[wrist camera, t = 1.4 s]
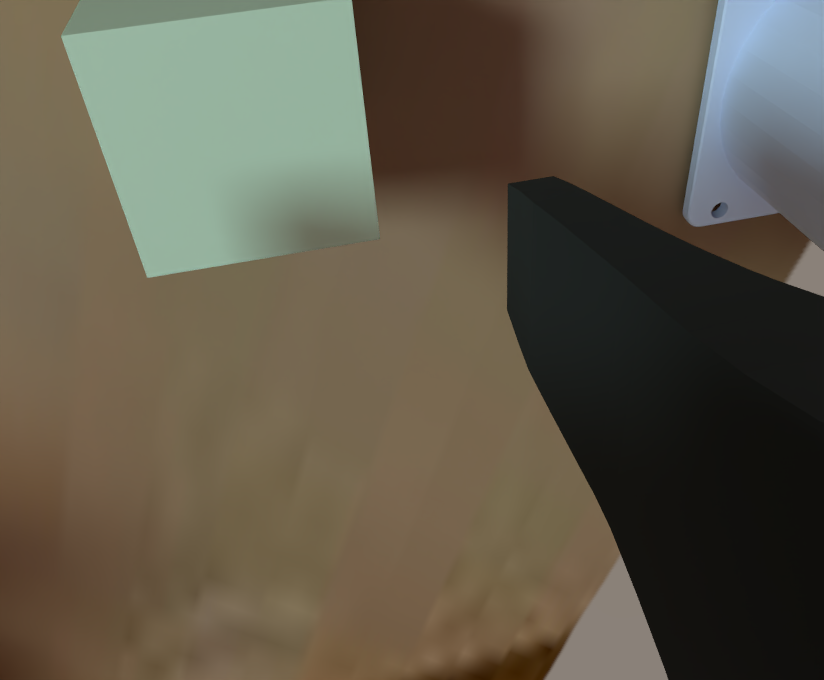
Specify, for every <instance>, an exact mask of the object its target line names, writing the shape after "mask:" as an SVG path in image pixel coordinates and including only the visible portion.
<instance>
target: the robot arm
mask: <svg viewBox="0 0 824 680" xmlns="http://www.w3.org/2000/svg"><path fill="white" fill-rule="evenodd" d="M719 203H721V205H720V207H719V208H718V209H717V210H715V211H712V209H713V207H714V206H715V205H717V204H719ZM711 211H712V212H711ZM777 213H780V214H781V215H782V216H784V217H785V218H786V219H787V220H788V221H789V222H790V223H792V224H793V225H794V226H795V227H796V228H797V229H799V230H800V231H801V232H802V233H803V234H804V235H806V236H807V237H808V238H809V239H810V240H811V241H812V242H814V243H815V244H816V245H817V246H818V247H819V248H821V249H822V250H823V251H824V0H719V1H718V7H717V13H716V19H715V24H714V30H713V36H712V42H711V48H710V54H709V60H708V65H707V71H706V77H705V83H704V89H703V95H702V101H701V106H700V112H699V118H698V124H697V130H696V136H695V141H694V147H693V153H692V159H691V165H690V171H689V177H688V182H687V188H686V194H685V200H684V206H683V216H684V218H685V219H686V220H687V222H688V223H689V224H690V225H692V226H694V227H701V226H707V225H713V224H719V223H725V222H730V221H736V220H742V219H748V218H753V217H759V216H765V215H771V214H777ZM507 311H508V314H509V317H510V319H511V322H512V325H513V328H514V331H515V334H516V337H517V340H518V343H519V345H520V348H521V351H522V353H523V356H524V359H525V361H526V364H527V367H528V369H529V371H530V373H531V375H532V377H533V379H534V381H535V383H536V385H537V387H538V389H539V391H540V393H541V395H542V397H543V399H544V401H545V402H546V404H547V406H548V408H549V410H550V412H551V414H552V416H553V418H554V420H555V421H556V423H557V425H558V427H559V429H560V431H561V433H562V435H563V437H564V438H565V440H566V442H567V444H568V446H569V448H570V450H571V452H572V453H573V455H574V457H575V459H576V461H577V463H578V465H579V467H580V468H581V470H582V472H583V474H584V476H585V478H586V480H587V482H588V484H589V485H590V487H591V489H592V491H593V493H594V495H595V497H596V499H597V501H598V503H599V505H600V507H601V509H602V511H603V513H604V516H605V518H606V520H607V522H608V524H609V526H610V528H611V531H612V533H613V536H614V538H615V541H616V543H617V546H618V548H619V551H620V553H621V556H622V558H623V561H624V563H625V566H626V568H627V571H628V573H629V576H630V578H631V581H632V583H633V586H634V588H635V591H636V593H637V596H638V598H639V601H640V604H641V607H642V609H643V612H644V615H645V617H646V620H647V623H648V625H649V628H650V631H651V633H652V636H653V639H654V641H655V644H656V647H657V649H658V652H659V655H660V657H661V660H662V663H663V665H664V668H665V671H666V674H667V677H668V680H824V297H823V296H820V295H817V294H814V293H811V292H809V291H806V290H803V289H800V288H797V287H794V286H791V285H788V284H785V283H783V282H780V281H777V280H774V279H772V278H769V277H766V276H764V275H761V274H759V273H756V272H753V271H751V270H749V269H746V268H744V267H741V266H739V265H737V264H735V263H732V262H730V261H728V260H725V259H723V258H721V257H718V256H716V255H714V254H711V253H709V252H707V251H704V250H702V249H700V248H698V247H696V246H694V245H691V244H689V243H687V242H685V241H683V240H681V239H679V238H677V237H675V236H673V235H670V234H668V233H666V232H664V231H662V230H660V229H658V228H656V227H654V226H652V225H650V224H648V223H646V222H644V221H642V220H641V219H639V218H637V217H635V216H633V215H631V214H629V213H627V212H625V211H623V210H621V209H619V208H617V207H615V206H614V205H612V204H610V203H608V202H606V201H604V200H602V199H600V198H598V197H596V196H594V195H592V194H591V193H589V192H587V191H585V190H583V189H581V188H579V187H577V186H575V185H573V184H570V183H568V182H566V181H564V180H561V179H559V178H556V177H554V176H552V177H546V178H540V179H534V180H528V181H522V182H516V183H509V184H508V264H507Z"/></svg>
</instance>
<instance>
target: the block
mask: <svg viewBox="0 0 824 680" xmlns="http://www.w3.org/2000/svg"><path fill="white" fill-rule="evenodd" d="M61 37H62V40H63V43H64V46H65V48H66V51H67V54H68V57H69V60H70V62H71V65H72V68H73V71H74V74H75V76H76V79H77V82H78V85H79V88H80V90H81V93H82V96H83V99H84V102H85V104H86V107H87V110H88V113H89V115H90V118H91V121H92V124H93V127H94V129H95V132H96V135H97V138H98V141H99V143H100V146H101V149H102V152H103V155H104V157H105V160H106V163H107V166H108V169H109V171H110V174H111V177H112V180H113V183H114V185H115V188H116V191H117V194H118V197H119V199H120V202H121V205H122V208H123V211H124V213H125V216H126V219H127V222H128V224H129V227H130V230H131V233H132V236H133V238H134V241H135V244H136V247H137V250H138V252H139V255H140V258H141V261H142V264H143V266H144V269H145V272H146V275H147V278H149V277H155V276H161V275H167V274H173V273H179V272H185V271H191V270H197V269H203V268H209V267H215V266H221V265H227V264H233V263H239V262H245V261H251V260H257V259H263V258H269V257H275V256H281V255H287V254H293V253H299V252H305V251H311V250H317V249H323V248H329V247H335V246H341V245H347V244H353V243H359V242H365V241H371V240H377V239H380V235H379V226H378V218H377V209H376V201H375V192H374V184H373V175H372V167H371V159H370V150H369V142H368V133H367V125H366V116H365V108H364V99H363V91H362V83H361V74H360V66H359V57H358V49H357V40H356V32H355V23H354V15H353V7H352V0H80V1H79V3H78V5H77V7H76V9H75V11H74V13H73V14H72V16H71V18H70V20H69V22H68V24H67V26H66V28H65V30H64V31H63V33H62V35H61Z"/></svg>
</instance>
